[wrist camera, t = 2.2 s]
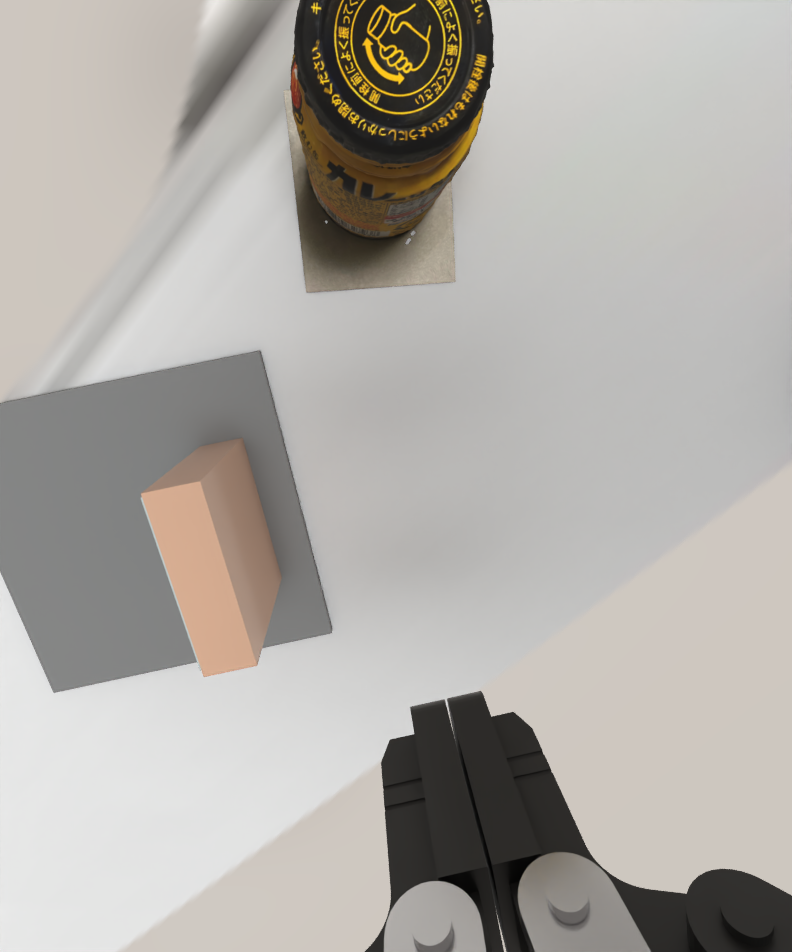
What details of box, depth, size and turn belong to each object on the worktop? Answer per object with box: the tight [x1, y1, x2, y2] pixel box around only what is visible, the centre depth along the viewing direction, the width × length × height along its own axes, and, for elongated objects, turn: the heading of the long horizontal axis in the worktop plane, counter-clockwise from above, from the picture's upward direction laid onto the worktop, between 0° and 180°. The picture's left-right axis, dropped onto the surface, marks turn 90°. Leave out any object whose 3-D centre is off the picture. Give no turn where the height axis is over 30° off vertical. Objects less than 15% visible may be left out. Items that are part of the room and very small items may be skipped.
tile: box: [141, 438, 282, 677], centre depth 25 cm, size 2×8×8 cm, turn 11°
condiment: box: [284, 0, 494, 292], centre depth 20 cm, size 7×8×12 cm
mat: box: [0, 351, 332, 693], centre depth 29 cm, size 16×16×1 cm
